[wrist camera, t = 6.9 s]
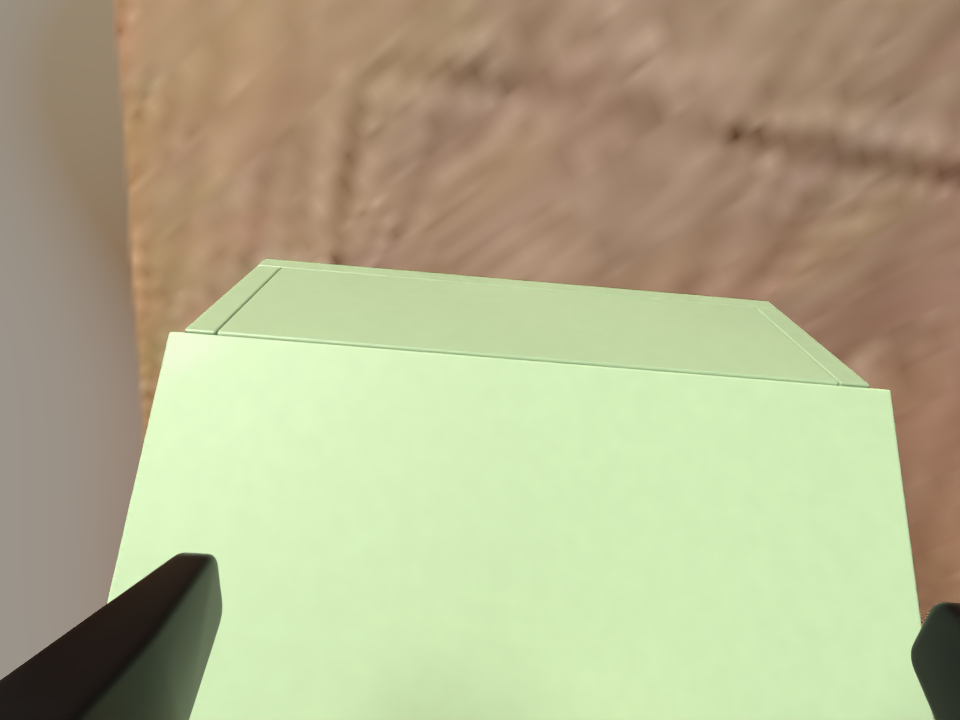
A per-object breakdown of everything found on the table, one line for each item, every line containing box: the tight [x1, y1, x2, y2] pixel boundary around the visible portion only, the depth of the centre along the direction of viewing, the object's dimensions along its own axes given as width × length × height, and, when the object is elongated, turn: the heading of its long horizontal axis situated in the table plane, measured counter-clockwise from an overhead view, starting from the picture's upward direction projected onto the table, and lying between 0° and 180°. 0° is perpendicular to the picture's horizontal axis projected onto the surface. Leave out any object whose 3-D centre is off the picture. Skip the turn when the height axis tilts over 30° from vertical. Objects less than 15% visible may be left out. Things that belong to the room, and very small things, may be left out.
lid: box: [107, 332, 934, 720], centre depth 10 cm, size 12×15×4 cm
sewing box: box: [185, 259, 869, 388], centre depth 19 cm, size 12×15×6 cm
